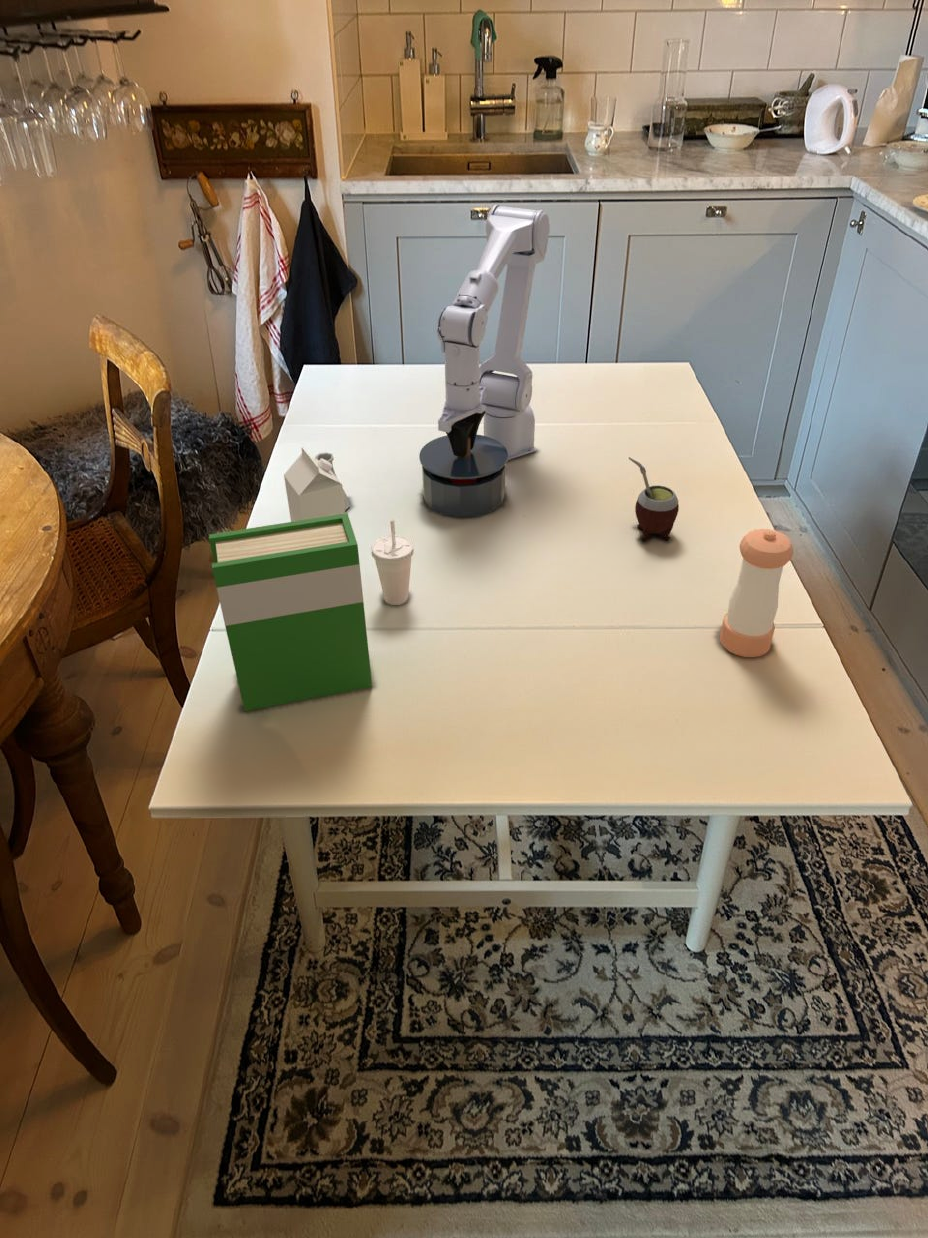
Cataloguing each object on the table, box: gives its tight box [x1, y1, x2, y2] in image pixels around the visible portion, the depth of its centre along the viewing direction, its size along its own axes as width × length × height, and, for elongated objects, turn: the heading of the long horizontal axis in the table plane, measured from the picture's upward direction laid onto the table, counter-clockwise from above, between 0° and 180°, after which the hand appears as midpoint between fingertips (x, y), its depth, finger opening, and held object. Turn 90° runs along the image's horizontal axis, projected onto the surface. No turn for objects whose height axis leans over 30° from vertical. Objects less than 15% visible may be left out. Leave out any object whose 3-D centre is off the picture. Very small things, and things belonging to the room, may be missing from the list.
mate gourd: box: [628, 456, 680, 543], centre depth 155 cm, size 8×8×15 cm
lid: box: [418, 434, 509, 479], centre depth 164 cm, size 16×16×4 cm
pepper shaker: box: [719, 528, 794, 658], centre depth 131 cm, size 7×7×19 cm
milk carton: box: [283, 446, 346, 522], centre depth 149 cm, size 7×7×19 cm
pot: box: [421, 464, 507, 518], centre depth 168 cm, size 15×15×6 cm
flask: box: [314, 452, 351, 511], centre depth 165 cm, size 7×7×10 cm
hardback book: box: [208, 512, 373, 712], centre depth 124 cm, size 18×7×24 cm, turn 105°
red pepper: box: [450, 478, 477, 484], centre depth 168 cm, size 5×5×5 cm
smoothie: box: [370, 518, 415, 606], centre depth 142 cm, size 6×6×14 cm
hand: (463, 451), depth 164 cm, fingers closed on lid, 2 cm apart
